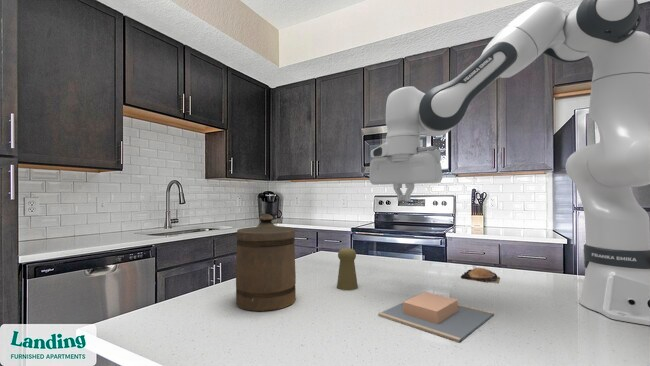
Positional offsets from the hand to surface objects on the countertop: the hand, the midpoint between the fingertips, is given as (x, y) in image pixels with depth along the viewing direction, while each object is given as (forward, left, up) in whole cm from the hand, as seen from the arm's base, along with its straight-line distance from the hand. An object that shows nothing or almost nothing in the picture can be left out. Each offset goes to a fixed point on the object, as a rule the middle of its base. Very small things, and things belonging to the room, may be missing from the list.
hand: (403, 201), depth 85 cm
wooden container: (+23, +28, -25) cm, 44 cm away
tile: (-7, +7, -23) cm, 25 cm away
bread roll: (-8, -31, -26) cm, 41 cm away
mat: (-12, +7, -25) cm, 28 cm away
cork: (+16, +5, -25) cm, 30 cm away
